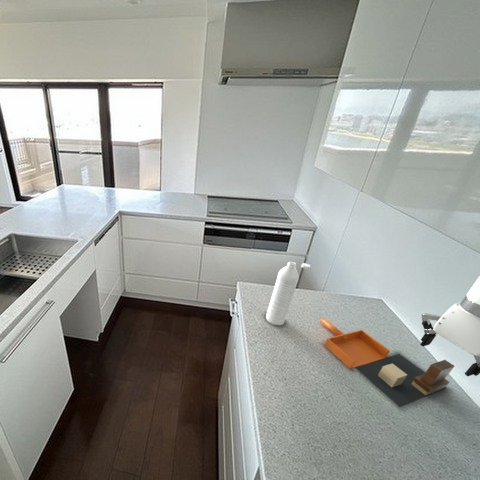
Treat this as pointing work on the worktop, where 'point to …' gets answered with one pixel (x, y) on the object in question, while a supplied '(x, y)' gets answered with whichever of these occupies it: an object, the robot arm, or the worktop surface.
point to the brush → (433, 377)
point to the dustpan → (354, 346)
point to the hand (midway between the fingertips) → (445, 358)
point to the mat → (402, 392)
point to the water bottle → (283, 293)
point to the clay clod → (392, 375)
